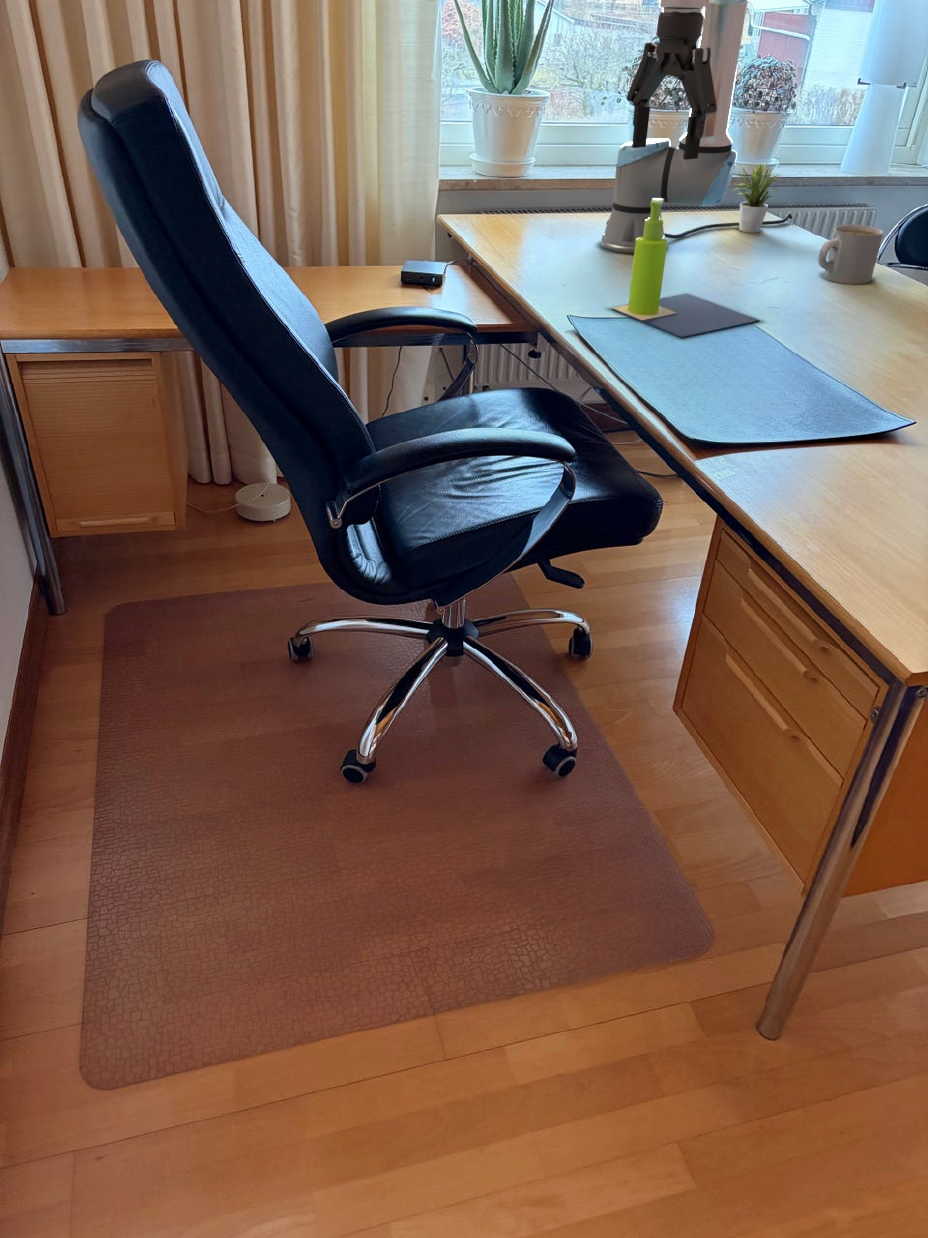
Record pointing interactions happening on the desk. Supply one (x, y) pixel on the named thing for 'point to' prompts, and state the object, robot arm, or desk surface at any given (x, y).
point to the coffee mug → (851, 254)
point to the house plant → (754, 200)
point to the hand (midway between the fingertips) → (663, 152)
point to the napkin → (689, 316)
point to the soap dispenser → (648, 265)
